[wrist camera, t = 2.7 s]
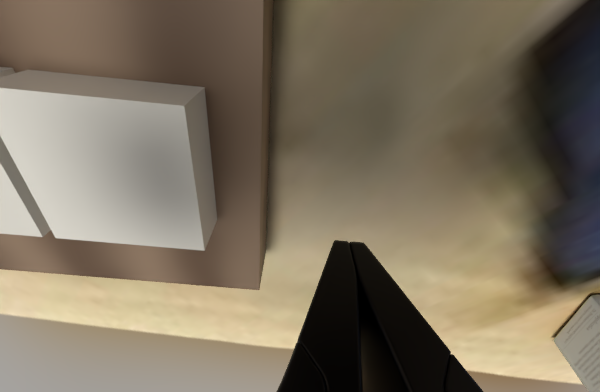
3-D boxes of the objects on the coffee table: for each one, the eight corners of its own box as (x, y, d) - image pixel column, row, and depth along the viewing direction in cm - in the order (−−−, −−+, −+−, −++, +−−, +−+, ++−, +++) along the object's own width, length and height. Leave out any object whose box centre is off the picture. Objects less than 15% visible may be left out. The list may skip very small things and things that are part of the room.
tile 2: (204, 87, 10) (184, 105, 8) (217, 219, 14) (204, 250, 12) (28, 69, 10) (-28, 85, 8) (86, 208, 13) (55, 238, 12)
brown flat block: (276, -85, 10) (264, -110, 7) (265, 251, 19) (259, 289, 17) (-290, -152, 9) (-507, -203, 7) (-18, 227, 18) (-69, 263, 16)
